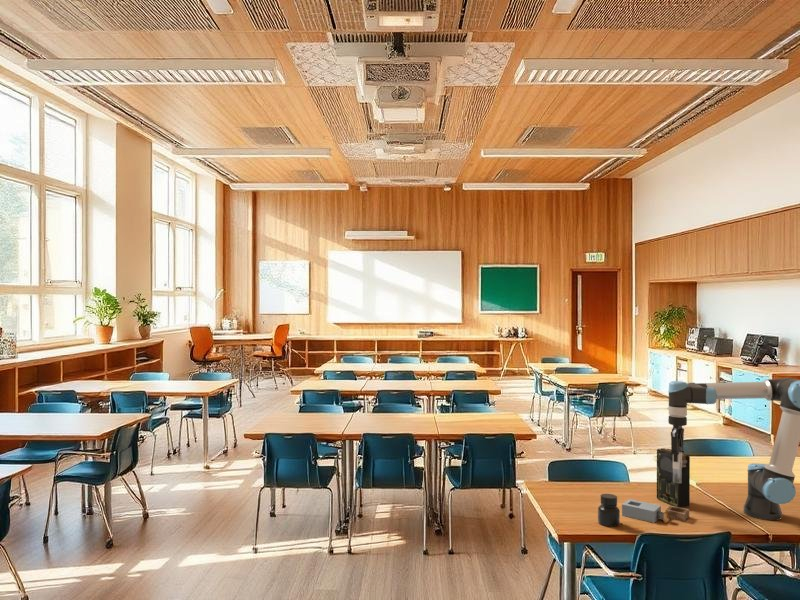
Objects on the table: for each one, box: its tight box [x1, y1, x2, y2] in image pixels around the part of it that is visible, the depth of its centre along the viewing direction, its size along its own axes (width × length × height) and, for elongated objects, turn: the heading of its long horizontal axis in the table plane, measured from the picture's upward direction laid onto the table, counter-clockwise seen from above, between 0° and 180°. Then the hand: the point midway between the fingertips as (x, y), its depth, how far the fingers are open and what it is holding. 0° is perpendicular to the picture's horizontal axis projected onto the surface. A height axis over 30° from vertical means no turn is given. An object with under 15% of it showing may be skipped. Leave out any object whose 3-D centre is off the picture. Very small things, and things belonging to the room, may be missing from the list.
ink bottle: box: [597, 493, 621, 528], centre depth 256 cm, size 10×9×12 cm
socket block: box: [621, 498, 662, 524], centre depth 265 cm, size 14×10×5 cm
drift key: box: [657, 510, 670, 524], centre depth 261 cm, size 9×4×4 cm, turn 51°
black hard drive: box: [656, 447, 691, 508], centre depth 284 cm, size 16×9×25 cm, turn 16°
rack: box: [665, 505, 690, 523], centre depth 264 cm, size 8×8×4 cm
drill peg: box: [673, 446, 683, 483], centre depth 264 cm, size 4×4×16 cm
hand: (677, 467), depth 264 cm, fingers closed on drill peg, 4 cm apart
